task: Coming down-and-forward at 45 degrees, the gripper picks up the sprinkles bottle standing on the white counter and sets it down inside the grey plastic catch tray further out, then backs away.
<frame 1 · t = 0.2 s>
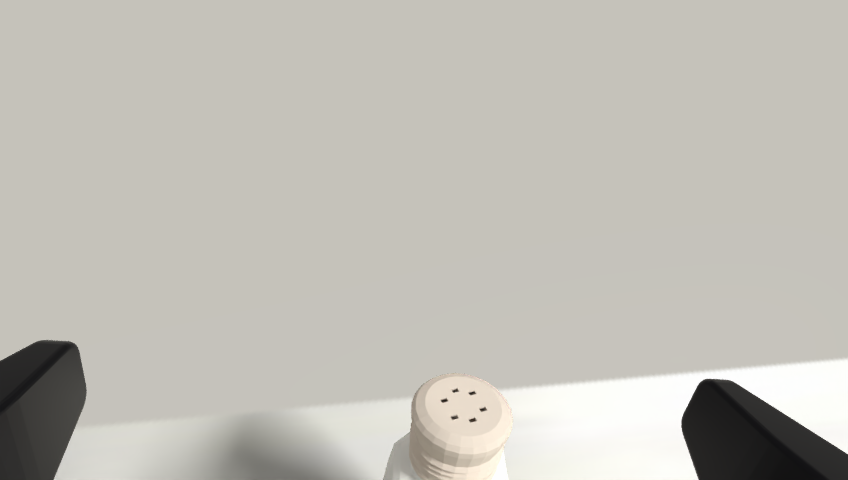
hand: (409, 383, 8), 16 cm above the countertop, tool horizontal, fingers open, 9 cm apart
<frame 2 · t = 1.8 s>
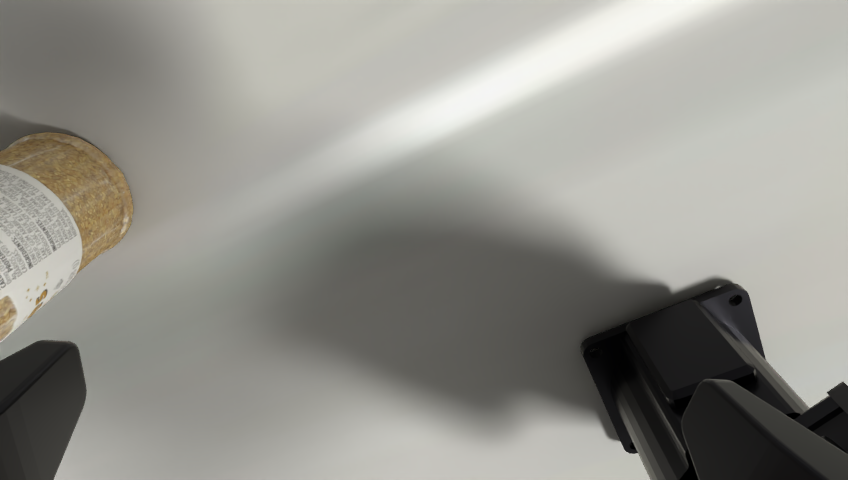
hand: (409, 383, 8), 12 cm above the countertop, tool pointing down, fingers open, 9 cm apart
sprinkles bottle: (75, 189, 19), on the countertop
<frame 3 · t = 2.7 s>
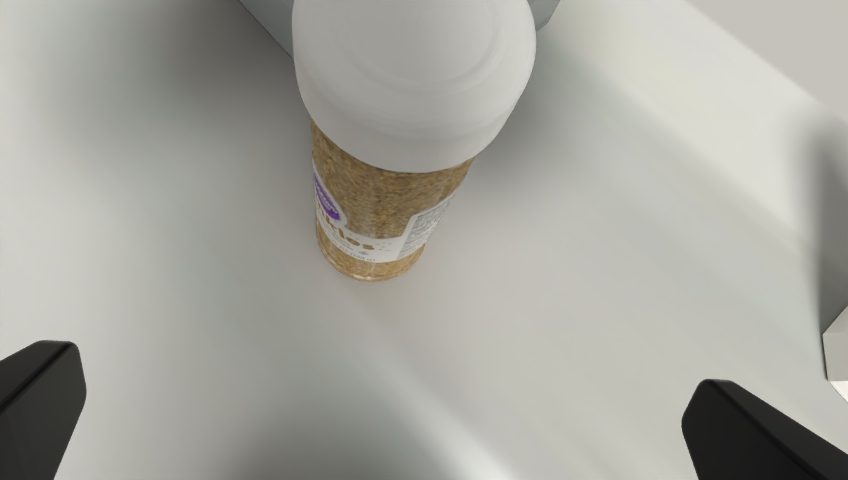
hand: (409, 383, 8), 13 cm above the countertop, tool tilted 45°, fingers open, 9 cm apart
sprinkles bottle: (372, 232, 23), on the countertop
catch tray: (388, 0, 26), on the countertop
when the fingers open (8 cm above the countertop, at t = 7.8 s): sprinkles bottle stays where it is, resting on catch tray.
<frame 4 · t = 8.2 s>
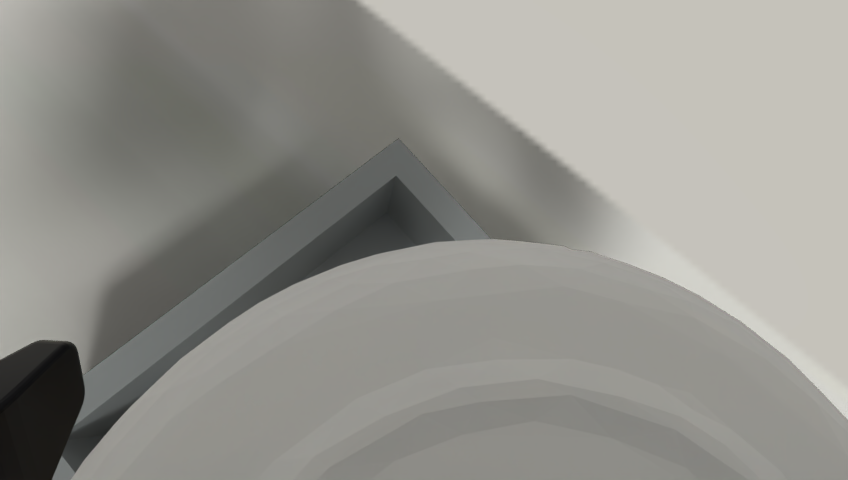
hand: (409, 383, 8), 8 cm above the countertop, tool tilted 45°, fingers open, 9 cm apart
sprinkles bottle: (369, 454, 15), resting on catch tray
catch tray: (368, 442, 15), on the countertop
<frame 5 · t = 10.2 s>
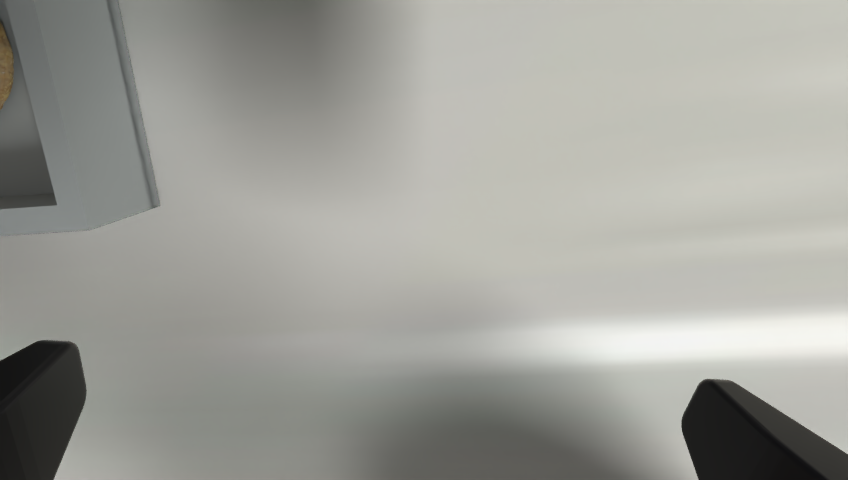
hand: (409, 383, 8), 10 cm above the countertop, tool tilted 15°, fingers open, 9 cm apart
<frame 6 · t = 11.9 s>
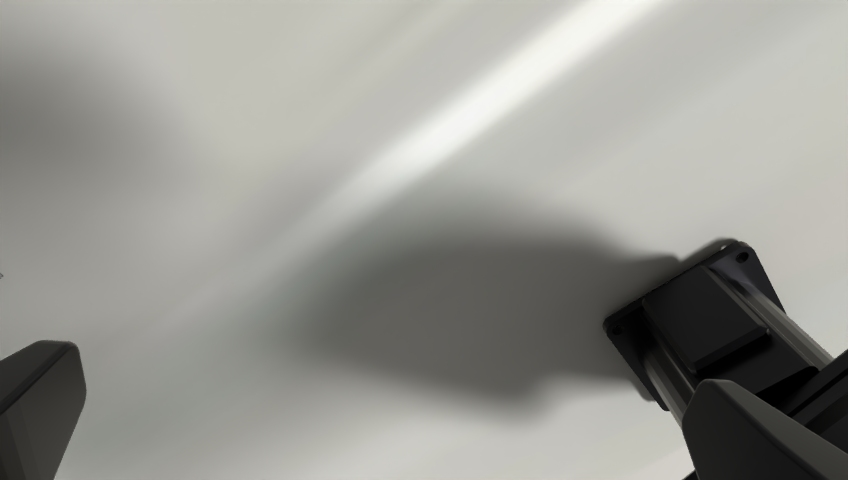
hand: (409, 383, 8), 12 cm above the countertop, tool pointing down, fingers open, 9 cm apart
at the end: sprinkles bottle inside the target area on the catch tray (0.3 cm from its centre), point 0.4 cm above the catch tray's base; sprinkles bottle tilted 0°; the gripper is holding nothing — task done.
